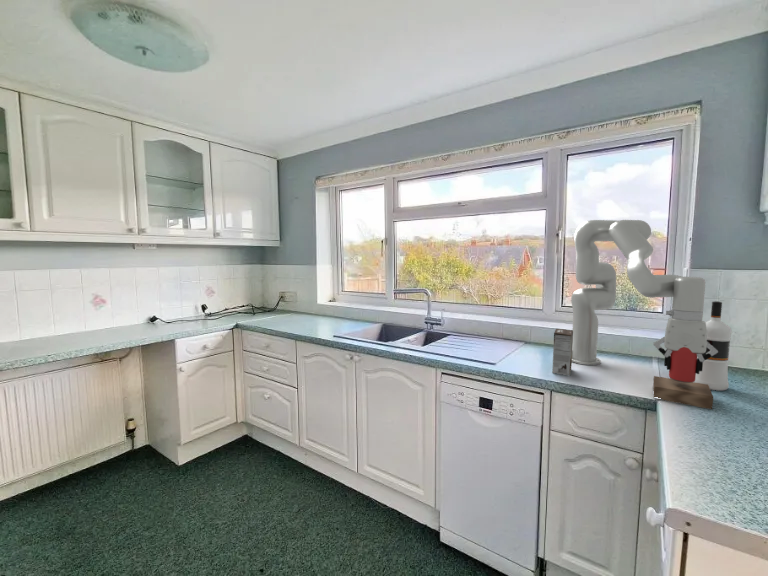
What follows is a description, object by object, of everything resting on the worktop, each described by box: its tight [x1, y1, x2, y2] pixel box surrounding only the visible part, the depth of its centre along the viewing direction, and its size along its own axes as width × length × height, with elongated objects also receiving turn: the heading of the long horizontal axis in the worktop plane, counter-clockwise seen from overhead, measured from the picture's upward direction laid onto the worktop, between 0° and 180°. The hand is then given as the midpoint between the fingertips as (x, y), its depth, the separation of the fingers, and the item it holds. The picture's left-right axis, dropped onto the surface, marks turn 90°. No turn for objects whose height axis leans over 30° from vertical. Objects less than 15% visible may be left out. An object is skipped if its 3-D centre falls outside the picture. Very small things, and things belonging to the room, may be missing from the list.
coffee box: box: [552, 328, 573, 376], centre depth 141 cm, size 9×6×16 cm
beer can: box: [668, 345, 697, 383], centre depth 115 cm, size 7×7×12 cm
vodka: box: [694, 300, 733, 392], centre depth 124 cm, size 9×9×30 cm
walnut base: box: [652, 375, 714, 410], centre depth 116 cm, size 14×12×4 cm
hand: (682, 370), depth 115 cm, fingers closed on beer can, 6 cm apart
